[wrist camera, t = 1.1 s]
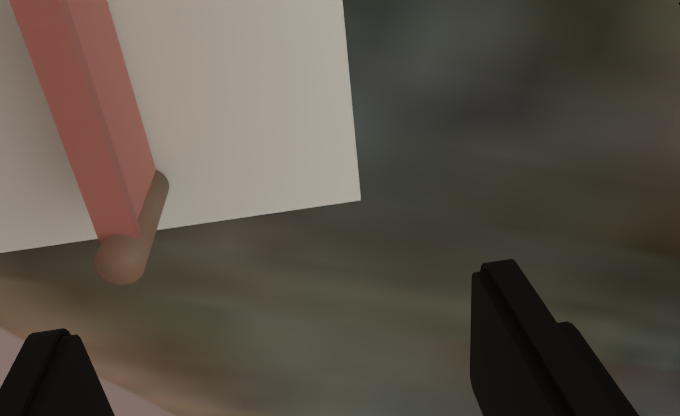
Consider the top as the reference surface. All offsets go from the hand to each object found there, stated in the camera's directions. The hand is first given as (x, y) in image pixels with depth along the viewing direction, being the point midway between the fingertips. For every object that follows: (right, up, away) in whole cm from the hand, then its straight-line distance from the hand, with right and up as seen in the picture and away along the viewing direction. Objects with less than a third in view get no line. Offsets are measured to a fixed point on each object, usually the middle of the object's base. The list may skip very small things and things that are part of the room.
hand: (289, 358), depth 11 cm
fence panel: (-9, +8, +14) cm, 18 cm away
